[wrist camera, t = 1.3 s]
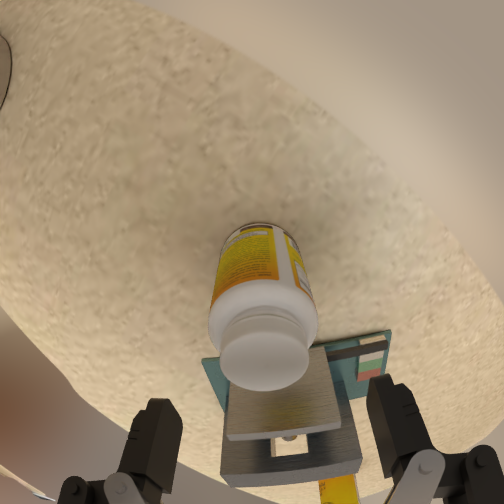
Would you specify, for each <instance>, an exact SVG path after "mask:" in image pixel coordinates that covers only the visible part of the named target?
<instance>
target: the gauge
mask: <svg viewBox="0 0 504 504" xmlns="http://www.w3.org/2000/svg"><path fill="white" fill-rule="evenodd" d="M391 334H392V332H391V330H387V331H383V332H379V333H374V334H370V335H365V336H360V337H355V338H351V339H346V340H340V341H335V342H330V343H324V344H318V345H313V346H310V347H309V349H310V348H316V347H321V346H324V349H325V352H329V351H334V350H339V349H344V348H349V347H354V346H359V345H364V344H368V343H373V342H377V341H382V340H386V339H387V341H388V343H389V344H388V349H387V350H383V351H379V352H375V353H370V354H366V355H361V356H357V357H352V358H347V359H342V360H337V361H331V362H328V365H329V369H330V374H331V378H332V382H333V386H334V391H335V395H336V400H337V404H338V408H339V413H340V418H341V428H337V429H332V430H326V431H320V432H314V433H308V434H306V438H307V446H308V453H303V454H295V455H287V456H278V457H276V447H275V438H267V439H254V440H238V441H229V439H228V437H227V435H226V432H227V418H228V404H229V390H230V380H228V379H227V378H226V377H225V375H224V374H223V372H222V370H221V368H220V357H219V358H207V359H202V361H201V362H202V365H203V367H204V369H205V372H206V374H207V376H208V378H209V381H210V383H211V385H212V387H213V389H214V392H215V394H216V396H217V398H218V400H219V402H220V405H221V407H222V409H223V411H224V413H225V415H224V428H223V441H222V454H221V467H220V475H221V477H222V478H223V479H224V480H225V481H226V482H227V484H228V485H229V486H230V487H261V486H275V485H286V484H296V483H304V482H311V481H317V480H324V479H329V478H335V477H340V476H345V475H350V474H354V473H358V471H359V468H360V465H361V462H362V459H363V457H362V453H361V448H360V444H359V440H358V435H357V431H356V427H355V423H354V419H353V415H352V411H351V407H350V403H349V400H351V399H355V398H360V397H364V396H367V392H368V386H369V380H370V378H371V377H375V376H379V375H383V374H384V373H385V368H386V363H387V358H388V352H389V346H390V340H391Z"/></svg>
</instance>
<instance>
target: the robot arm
mask: <svg viewBox="0 0 504 504" xmlns="http://www.w3.org/2000/svg"><path fill="white" fill-rule="evenodd" d="M10 67H11V58H10V51H9V47H8V44H7V42H6V41H5V39H4V38H2V37H1V36H0V107H1V105H2V102H3V100H4V97H5V94H6V90H7V87H8V83H9V77H10ZM366 405H367V411H368V415H369V419H370V422H371V426H372V430H373V434H374V437H375V441H376V445H377V449H378V453H379V457H380V461H381V465H382V469H383V474H384V478H385V479H386V478H389V477H392V478H393V482H394V485H393V487H392V489H391V491H390V493H389V495H388V497H387V498H386V500H385V502H384V504H430V503H431V500H432V498H443V503H444V504H504V475H503V472H502V469H501V466H500V463H499V460H498V457H497V454H496V452H495V450H494V449H493V448H492V447H490V446H488V445H479V446H476V447H474V448H473V449H472V450H471V451H470V452H468V453H458V454H445V453H442V452H440V451H438V450H437V449H436V448H435V447H434V446H433V445H432V442H431V440H430V437H429V434H428V432H427V429H426V426H425V424H424V421H423V419H422V416H421V413H420V412H419V408H418V406H417V404H416V401H415V399H414V396H413V394H412V391H411V390H409V389H408V388H407V387H406V386H405V385H404V384H403V383H401V384H397V385H394V383H393V381H392V378H391V376H390V374H388V373H387V374H383V375H379V376H375V377H371V378H370V380H369V386H368V392H367V398H366ZM130 430H131V431H130V432H129V435H128V440H127V442H126V445H125V448H124V451H123V455H122V458H121V461H120V465H119V468H118V470H117V472H116V473H113V474H111V475H110V476H109V477H108V478H107V479H106V480H99V481H87V482H86V481H85V480H84V479H82V478H81V477H78V476H71V477H69V478H67V479H66V480H65V481H64V483H63V485H62V488H61V492H60V496H59V499H58V503H57V504H164V503H163V502H162V500H161V496H162V493H166V494H171V491H172V485H173V479H174V473H175V468H176V463H177V457H178V452H179V446H180V441H181V436H182V430H183V423H182V419H181V417H180V415H179V414H178V412H177V411H176V409H175V408H174V406H173V404H172V403H171V401H170V400H169V399H163V398H151V399H150V400H149V401H148V404H147V407H146V410H140V411H139V413H138V414H137V415H136V416H135V418H134V419H133V422H132V425H131V428H130Z"/></svg>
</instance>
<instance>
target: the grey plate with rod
mask: <svg viewBox="0 0 504 504" xmlns="http://www.w3.org/2000/svg"><path fill="white" fill-rule="evenodd" d="M388 344H389V343H388V341H387V339H386V340H382V341H377V342H373V343H368V344H364V345H359V346H354V347H349V348H344V349H339V350H334V351H329V352H325V349H324V346H321V347H316V348H310V349H308V353H309V364H308V368H307V370H306V372H305V373H304V374H303V376H302V377H301V378H300V379H299V380H297V381H296V382H294V383H293V384H291V385H289V386H287V387H285V388H282V389H278V390H272V391H253V390H248V389H245V388H242V387H240V386H237V385H235V384H234V383H232V382H231V381H230V390H229V404H228V418H227V432H226V435H227V437H228V439H229V441H238V440H254V439H267V438H277V437H282V439H284V440H285V441H292V440H294V439H296V437H297V435H301V434H308V433H314V432H320V431H326V430H332V429H337V428H341V418H340V413H339V408H338V404H337V400H336V395H335V391H334V386H333V382H332V378H331V374H330V369H329V365H328V362H331V361H337V360H342V359H347V358H352V357H357V356H361V355H366V354H370V353H375V352H379V351H383V350H387V349H388Z"/></svg>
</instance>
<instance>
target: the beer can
mask: <svg viewBox="0 0 504 504" xmlns="http://www.w3.org/2000/svg"><path fill="white" fill-rule="evenodd" d="M318 482H319V490H320V499H321V504H360V499H359V493H358V488H357V482H356V477H355V473H354V474H350V475H345V476H340V477H335V478H329V479H324V480H318Z"/></svg>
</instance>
